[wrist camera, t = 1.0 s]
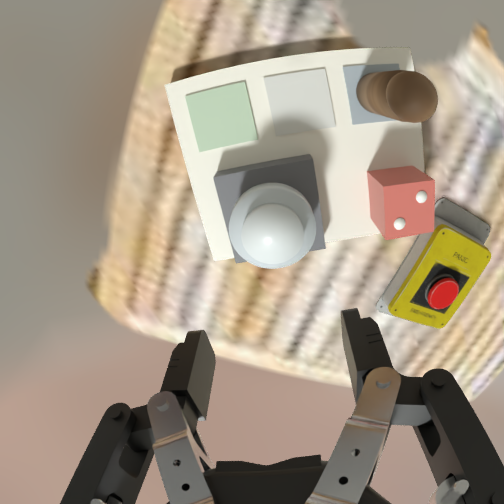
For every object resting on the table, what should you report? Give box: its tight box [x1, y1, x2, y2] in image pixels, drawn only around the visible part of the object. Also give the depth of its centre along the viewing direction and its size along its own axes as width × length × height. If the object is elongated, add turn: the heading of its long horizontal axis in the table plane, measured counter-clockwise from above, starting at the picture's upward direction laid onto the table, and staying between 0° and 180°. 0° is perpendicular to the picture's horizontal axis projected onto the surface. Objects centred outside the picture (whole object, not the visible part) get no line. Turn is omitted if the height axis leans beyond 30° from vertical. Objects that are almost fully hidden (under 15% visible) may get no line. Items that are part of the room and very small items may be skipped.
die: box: [367, 166, 435, 240], centre depth 25 cm, size 4×4×5 cm
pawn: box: [356, 70, 438, 123], centre depth 19 cm, size 4×4×9 cm
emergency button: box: [376, 198, 491, 329], centre depth 31 cm, size 9×4×15 cm
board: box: [165, 47, 425, 263], centre depth 26 cm, size 21×17×4 cm
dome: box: [229, 183, 316, 269], centre depth 25 cm, size 6×6×4 cm
